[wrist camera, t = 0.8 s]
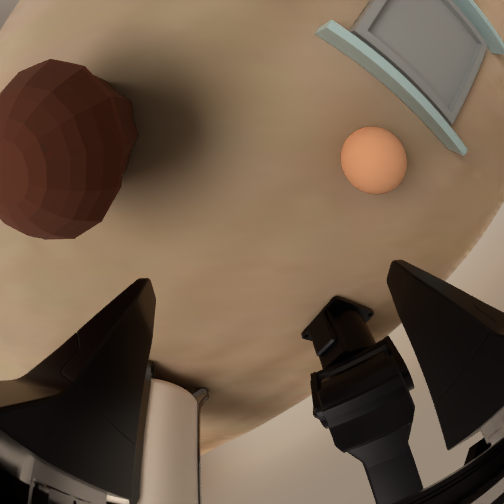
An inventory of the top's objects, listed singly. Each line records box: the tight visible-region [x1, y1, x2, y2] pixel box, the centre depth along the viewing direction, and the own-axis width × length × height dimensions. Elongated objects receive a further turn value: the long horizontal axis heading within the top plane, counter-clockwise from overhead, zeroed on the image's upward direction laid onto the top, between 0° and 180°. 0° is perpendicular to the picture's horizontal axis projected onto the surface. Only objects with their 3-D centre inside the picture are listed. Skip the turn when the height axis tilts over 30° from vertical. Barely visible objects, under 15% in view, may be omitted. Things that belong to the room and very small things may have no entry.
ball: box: [341, 127, 407, 194], centre depth 18 cm, size 5×5×5 cm
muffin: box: [0, 59, 138, 239], centre depth 13 cm, size 12×11×10 cm
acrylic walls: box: [315, 0, 504, 156], centre depth 13 cm, size 16×16×2 cm
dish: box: [349, 0, 488, 125], centre depth 13 cm, size 12×12×1 cm
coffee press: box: [106, 361, 209, 504], centre depth 21 cm, size 17×16×30 cm
